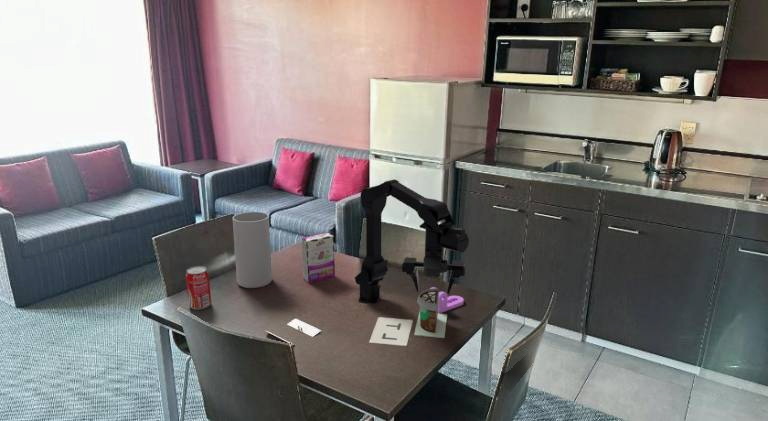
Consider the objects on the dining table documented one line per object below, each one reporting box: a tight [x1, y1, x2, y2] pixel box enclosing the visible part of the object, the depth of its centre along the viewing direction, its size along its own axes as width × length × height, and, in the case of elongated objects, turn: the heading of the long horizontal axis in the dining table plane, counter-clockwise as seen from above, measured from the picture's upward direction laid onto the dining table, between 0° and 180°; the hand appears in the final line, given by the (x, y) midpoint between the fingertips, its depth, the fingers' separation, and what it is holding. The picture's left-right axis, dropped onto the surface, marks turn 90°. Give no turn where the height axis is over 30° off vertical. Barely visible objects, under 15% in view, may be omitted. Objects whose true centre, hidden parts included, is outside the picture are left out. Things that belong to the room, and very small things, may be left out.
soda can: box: [185, 265, 212, 311], centre depth 178 cm, size 7×7×13 cm
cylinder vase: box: [232, 211, 273, 289], centre depth 196 cm, size 12×12×25 cm
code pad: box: [368, 316, 414, 347], centre depth 165 cm, size 11×16×1 cm
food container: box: [416, 287, 440, 333], centre depth 167 cm, size 12×6×10 cm, turn 171°
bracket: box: [429, 286, 465, 314], centre depth 182 cm, size 13×6×7 cm, turn 127°
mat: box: [413, 311, 448, 339], centre depth 169 cm, size 9×15×1 cm, turn 171°
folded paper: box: [264, 318, 322, 346], centre depth 163 cm, size 12×12×2 cm
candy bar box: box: [301, 232, 336, 284], centre depth 201 cm, size 11×5×16 cm, turn 123°
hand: (432, 292), depth 166 cm, fingers open, 9 cm apart
